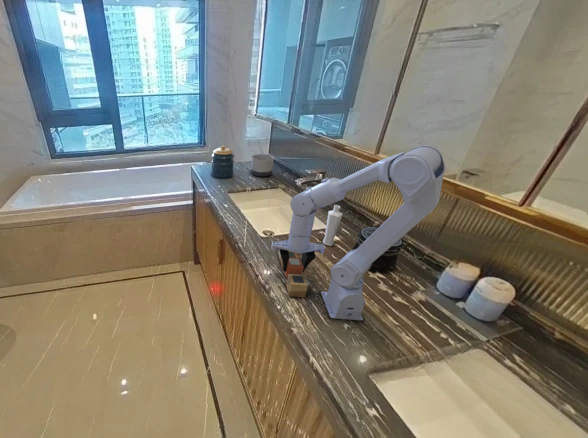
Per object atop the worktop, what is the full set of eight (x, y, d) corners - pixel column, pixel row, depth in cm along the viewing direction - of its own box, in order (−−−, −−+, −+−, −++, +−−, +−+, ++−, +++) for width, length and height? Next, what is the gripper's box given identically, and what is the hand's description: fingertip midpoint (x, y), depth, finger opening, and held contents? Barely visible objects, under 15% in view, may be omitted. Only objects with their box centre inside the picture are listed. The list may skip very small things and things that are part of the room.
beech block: (296, 270, 90) (299, 258, 88) (282, 269, 91) (284, 258, 89) (294, 261, 94) (296, 250, 92) (280, 261, 95) (282, 249, 92)
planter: (246, 172, 173) (247, 155, 168) (265, 169, 176) (266, 153, 171) (256, 179, 162) (258, 161, 157) (276, 176, 166) (278, 159, 161)
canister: (209, 172, 174) (209, 143, 165) (229, 170, 176) (231, 142, 167) (214, 179, 162) (214, 149, 154) (236, 178, 164) (237, 147, 156)
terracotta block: (301, 278, 84) (304, 266, 82) (285, 277, 85) (288, 265, 83) (298, 269, 88) (300, 257, 86) (283, 268, 89) (285, 256, 86)
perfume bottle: (336, 247, 102) (346, 209, 94) (323, 245, 102) (332, 208, 95) (333, 240, 105) (343, 203, 98) (321, 239, 106) (329, 203, 99)
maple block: (305, 297, 80) (308, 285, 78) (288, 296, 80) (291, 283, 78) (301, 286, 84) (304, 274, 82) (286, 285, 84) (288, 273, 82)
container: (388, 253, 98) (398, 228, 93) (399, 277, 87) (410, 250, 82) (348, 247, 101) (355, 223, 96) (353, 269, 90) (362, 243, 86)
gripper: (323, 225, 82) (314, 263, 89) (272, 223, 83) (267, 260, 90) (330, 238, 76) (320, 278, 82) (275, 236, 77) (269, 275, 84)
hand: (293, 270), depth 86 cm, fingers closed on terracotta block, 4 cm apart
